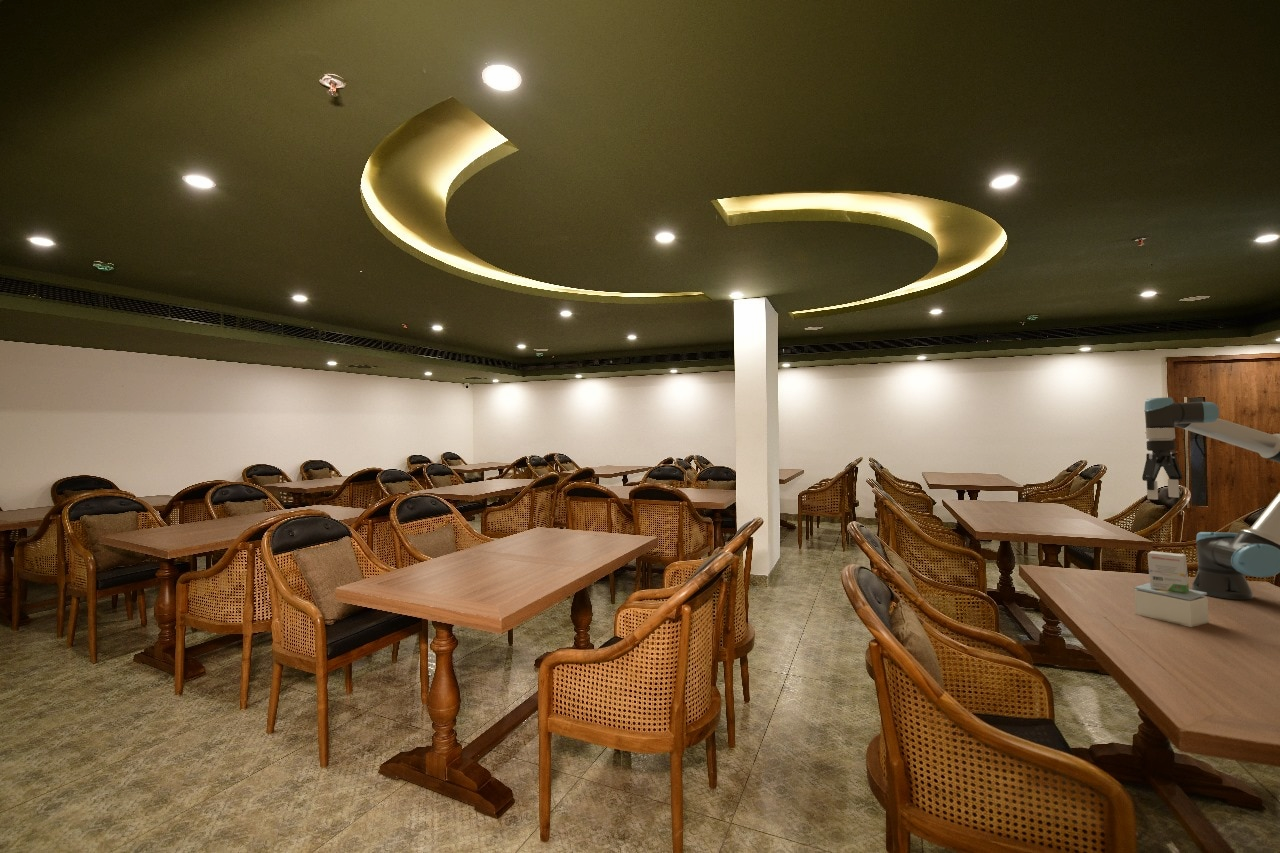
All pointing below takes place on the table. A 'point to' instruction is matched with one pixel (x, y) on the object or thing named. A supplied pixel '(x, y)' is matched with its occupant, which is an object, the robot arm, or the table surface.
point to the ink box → (1168, 571)
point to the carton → (1172, 608)
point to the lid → (1188, 596)
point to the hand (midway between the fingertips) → (1163, 498)
